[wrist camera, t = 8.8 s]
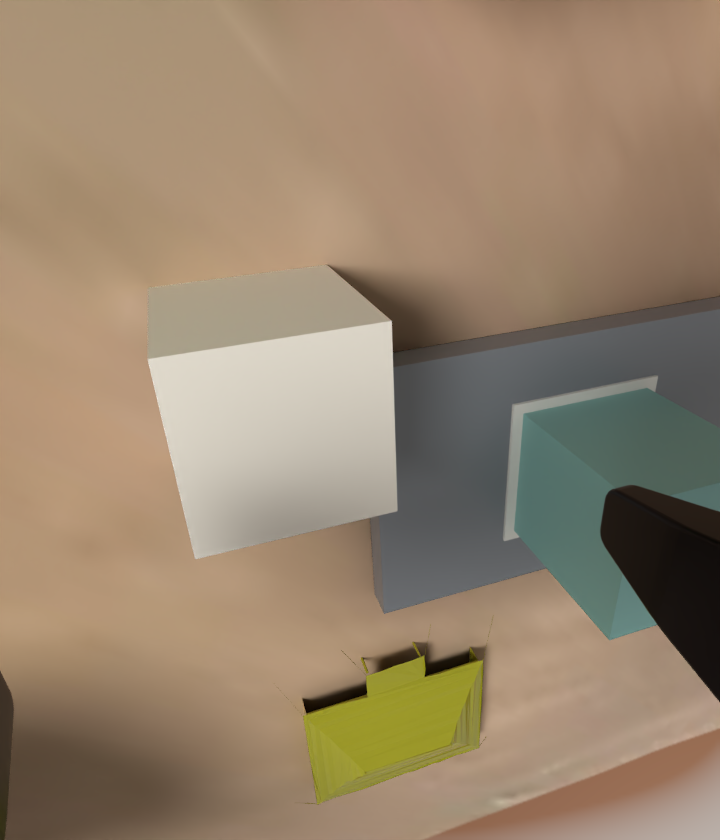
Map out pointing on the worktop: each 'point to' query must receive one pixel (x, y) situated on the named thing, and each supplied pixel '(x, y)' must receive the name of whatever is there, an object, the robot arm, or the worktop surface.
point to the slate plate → (513, 433)
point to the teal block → (606, 488)
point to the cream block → (274, 404)
